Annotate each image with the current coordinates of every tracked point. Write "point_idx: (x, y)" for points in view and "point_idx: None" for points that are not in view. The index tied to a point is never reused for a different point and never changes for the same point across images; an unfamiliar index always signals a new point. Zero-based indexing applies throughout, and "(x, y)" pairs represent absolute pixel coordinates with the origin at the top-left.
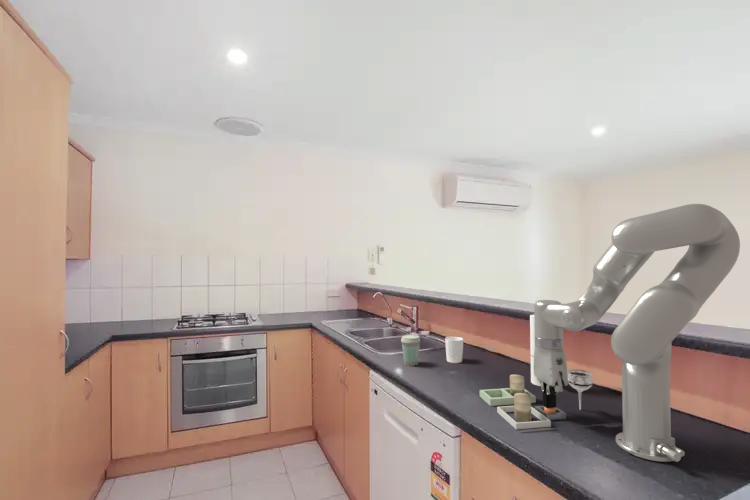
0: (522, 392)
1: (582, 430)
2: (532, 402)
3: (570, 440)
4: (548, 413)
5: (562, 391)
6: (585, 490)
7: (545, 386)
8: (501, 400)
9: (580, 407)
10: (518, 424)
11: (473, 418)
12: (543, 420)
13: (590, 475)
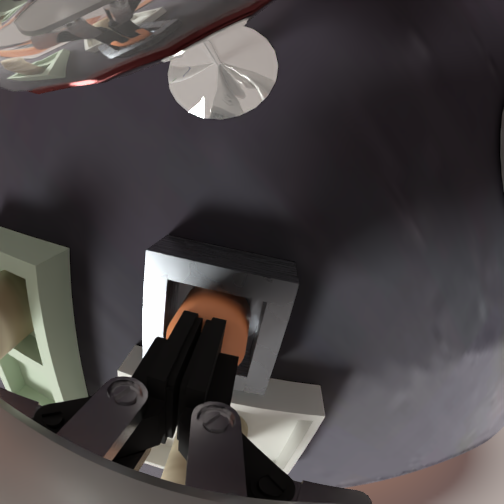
0: (14, 317)
1: (398, 259)
2: (59, 273)
3: (412, 372)
4: (251, 376)
5: (368, 498)
6: (488, 439)
7: (120, 451)
8: None
9: (219, 56)
10: None
11: (154, 474)
12: (305, 434)
13: (491, 416)
